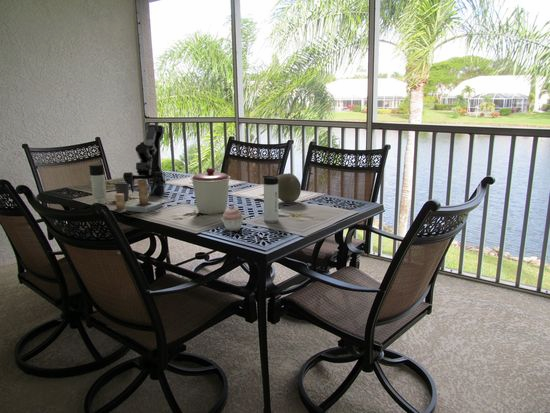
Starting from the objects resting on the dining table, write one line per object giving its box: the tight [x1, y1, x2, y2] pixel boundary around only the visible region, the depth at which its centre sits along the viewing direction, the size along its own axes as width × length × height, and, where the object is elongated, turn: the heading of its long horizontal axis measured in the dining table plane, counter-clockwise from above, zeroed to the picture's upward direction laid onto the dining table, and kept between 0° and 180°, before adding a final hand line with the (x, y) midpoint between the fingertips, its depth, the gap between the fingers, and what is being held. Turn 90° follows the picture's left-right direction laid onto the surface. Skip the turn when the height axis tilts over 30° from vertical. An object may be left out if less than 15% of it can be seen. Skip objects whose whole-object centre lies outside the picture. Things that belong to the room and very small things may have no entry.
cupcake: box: [220, 205, 245, 232], centre depth 177 cm, size 9×9×10 cm
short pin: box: [114, 193, 126, 210], centre depth 211 cm, size 4×4×7 cm
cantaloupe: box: [276, 173, 302, 203], centre depth 219 cm, size 14×14×15 cm
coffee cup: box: [113, 180, 130, 201], centre depth 228 cm, size 8×8×10 cm
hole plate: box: [125, 200, 163, 214], centre depth 211 cm, size 12×12×2 cm
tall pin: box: [137, 179, 149, 206], centre depth 209 cm, size 4×4×14 cm
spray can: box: [88, 163, 108, 205], centre depth 219 cm, size 7×7×20 cm
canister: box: [190, 166, 231, 215], centre depth 202 cm, size 18×18×21 cm
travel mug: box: [262, 175, 279, 224], centre depth 186 cm, size 6×7×20 cm
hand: (142, 191), depth 208 cm, fingers open, 9 cm apart
